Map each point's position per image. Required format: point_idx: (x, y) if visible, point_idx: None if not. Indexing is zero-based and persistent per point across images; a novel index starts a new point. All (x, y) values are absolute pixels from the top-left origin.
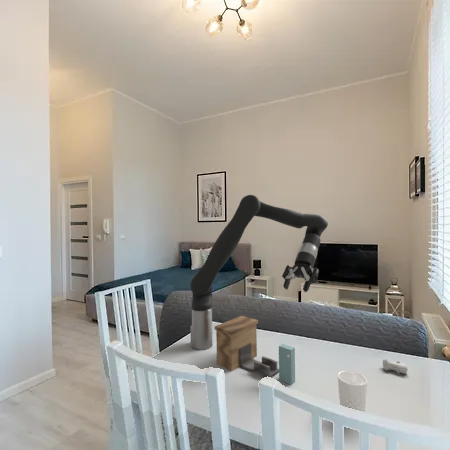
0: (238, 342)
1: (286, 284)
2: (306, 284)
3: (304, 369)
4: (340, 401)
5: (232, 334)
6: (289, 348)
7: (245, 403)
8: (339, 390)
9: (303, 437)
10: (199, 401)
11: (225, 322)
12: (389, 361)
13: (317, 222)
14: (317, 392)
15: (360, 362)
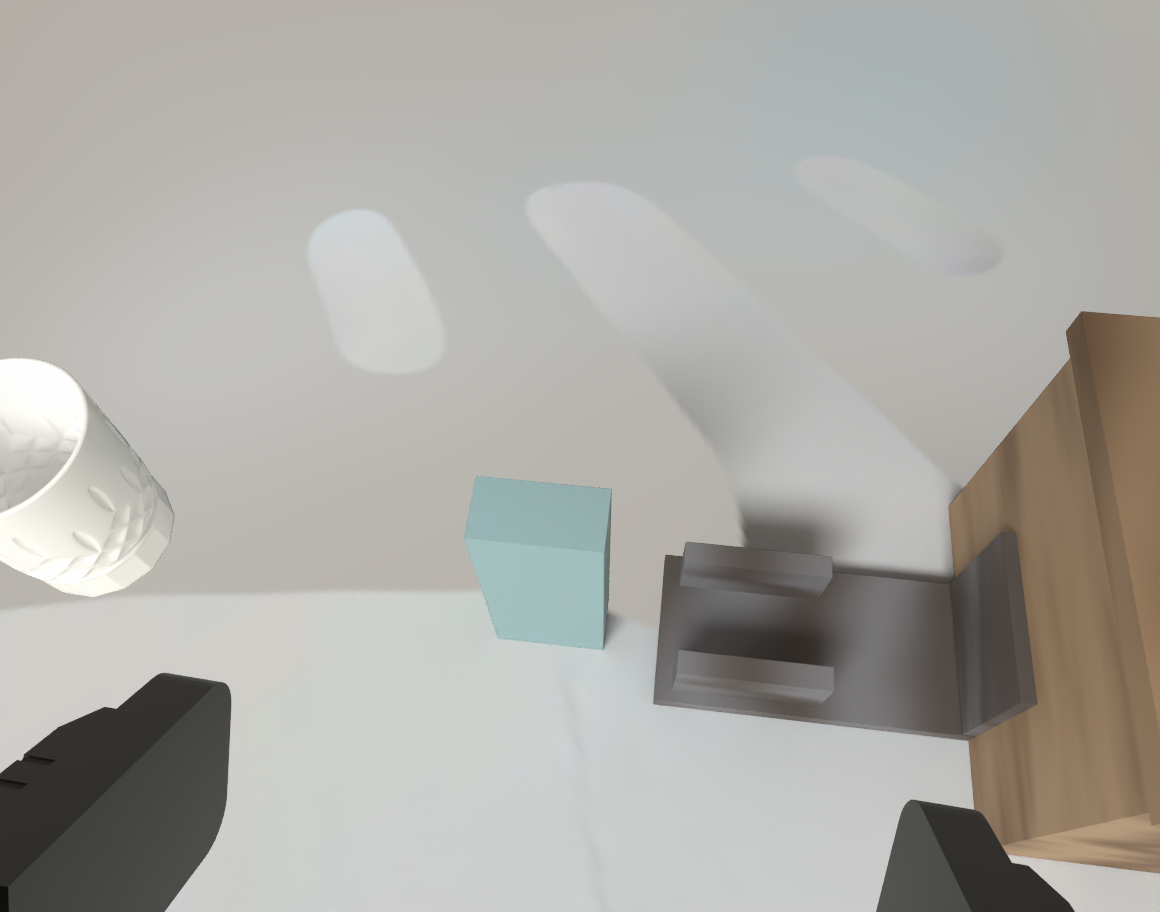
0: (1042, 497)
1: (942, 897)
2: (33, 811)
3: (491, 864)
4: (148, 472)
5: (1068, 341)
6: (501, 497)
7: (653, 296)
8: (121, 437)
9: (321, 255)
10: (853, 200)
11: None
12: None
13: None
14: (324, 597)
15: None
